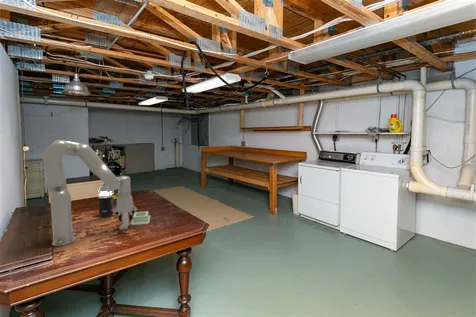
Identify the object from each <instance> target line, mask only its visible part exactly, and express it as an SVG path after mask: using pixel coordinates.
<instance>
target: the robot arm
mask: <svg viewBox="0 0 476 317" xmlns="http://www.w3.org/2000/svg"><path fill="white" fill-rule="evenodd" d="M42 156H43V159H42V161H43V165H44V166H43V167H44V171H45V173H44V174H45V183H46V186H47V191H48V196H49V199H50V200H49V201H50V214H51V224H52V226H51V227H52V238H53V239H52V240H53V243H52V245H53V247H59V246H65V245H69V244H71V243H74V242H75V241H76V240H77V236H75V235H74V234H73V233H74V232H73V217H72V216H73V215H72V196H71V195H72V194H71V193H70V192H69V190H68V185H67V175H66V173H65V169H64V164H63V158H64V156H72V157H78V158H79V159H80V160H81V161H82V162H83V164H85V166H86V167H87V168H88V169H89V170H90V171H91V172H92V173H93V174H94V175H95V176H96V177H98V178H99V179H100V180H101V181H102V182H103V183H104V185H105V186H106V187H107V188H109V189H110V190H112V192H113V191H117V192H116V194H115V195H117V196H118V197H117V203H116V206H115V208H113V214H114V213H115V215H117V216H118V220H119V222H122V221H123V216H122V213H123V212H128V214H129V221H131V222H132V220H133V215H134V213H135V212H137V211H138V208H137V207H136V206H135V205H134V201H133V200H134V199H133V196H132V192H131V176H129V175H127V176H121V177H116V176H117V175H116V174H114V173H113V171H111V169H110V168H109V167H108V166H107V164H106V163H105V162H104V161H103V160H102V159H101V157H99V155H98V154H97V153H96V152H95V151H94V149H93V148H92V147H91V146H90V145H89V144H86V143H80V142H73V141H69V140H68V141H67V140H63V139H56V140H55V141H53V142H52V144H51V145H49V146H48V147H47V148H46V150H45V151H44V153H43V155H42ZM52 245H51V246H52Z"/></svg>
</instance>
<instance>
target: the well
mask: <svg viewBox="0 0 476 317" xmlns="http://www.w3.org/2000/svg"><path fill="white" fill-rule="evenodd" d="M150 220H151V215H149V211H148V210H147V211H135V212H134V213H133V215H132V219H131V223H130V226H140V225H149V224H150Z"/></svg>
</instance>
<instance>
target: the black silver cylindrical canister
mask: <svg viewBox="0 0 476 317" xmlns="http://www.w3.org/2000/svg"><path fill="white" fill-rule="evenodd" d="M113 194H114V193H113V190H110V189H109V188H107V187H106V186H105V185H104V184H101V186H100V187H99V188H98V189H97V200H98V203H97V204H98V216H99V217H101V218H108V217H112V216H113V215H114V212H113V210H114V203H113Z"/></svg>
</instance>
